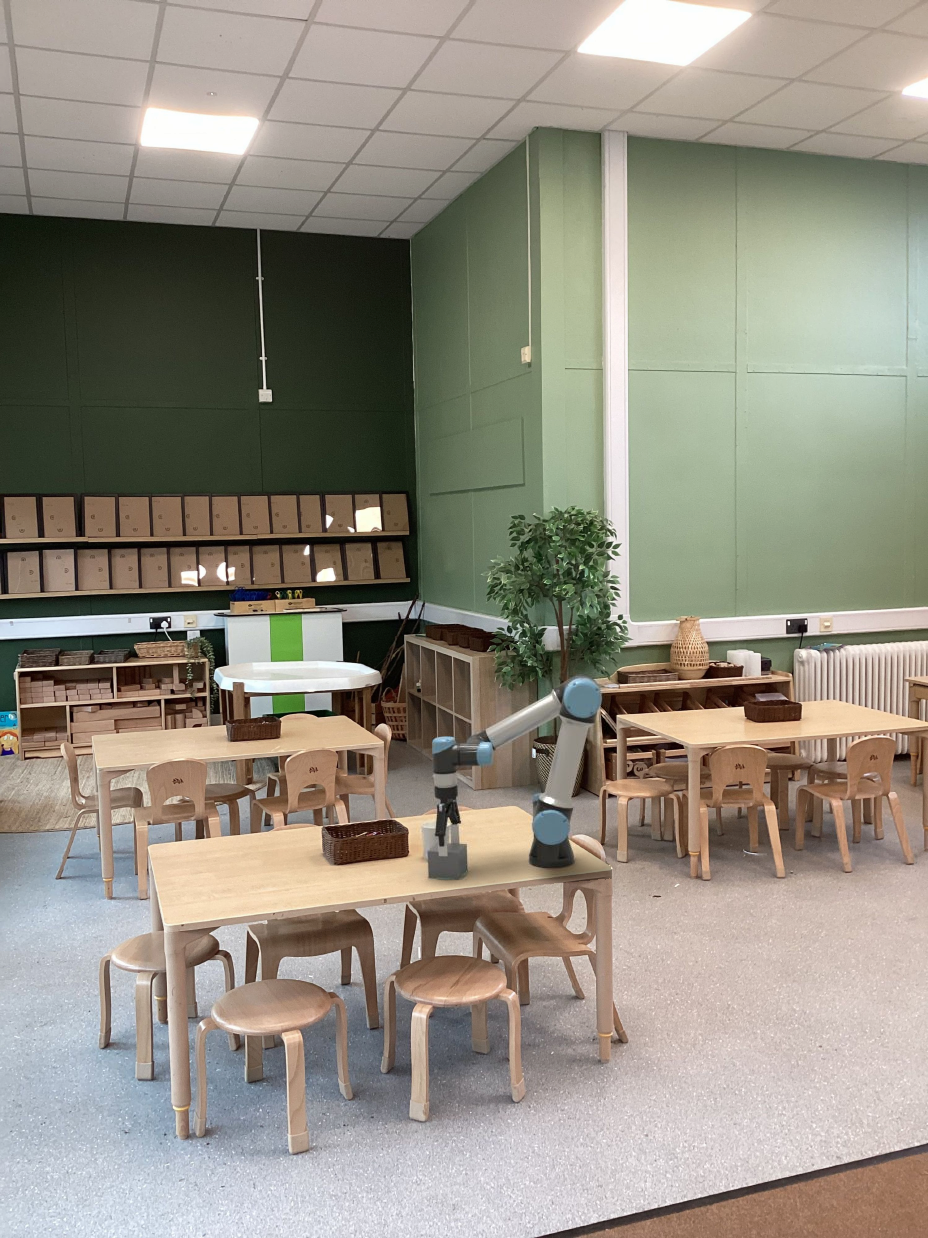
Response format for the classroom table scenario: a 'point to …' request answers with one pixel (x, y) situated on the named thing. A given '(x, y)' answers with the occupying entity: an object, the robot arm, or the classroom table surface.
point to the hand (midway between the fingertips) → (449, 850)
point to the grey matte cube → (448, 862)
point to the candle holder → (431, 836)
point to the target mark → (452, 879)
